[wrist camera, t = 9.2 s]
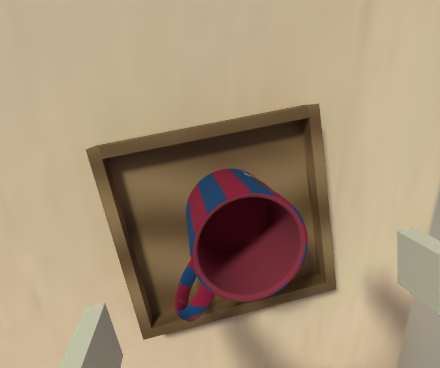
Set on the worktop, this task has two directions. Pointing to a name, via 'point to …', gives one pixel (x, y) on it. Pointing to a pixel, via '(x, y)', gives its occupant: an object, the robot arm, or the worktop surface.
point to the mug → (238, 242)
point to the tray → (180, 191)
